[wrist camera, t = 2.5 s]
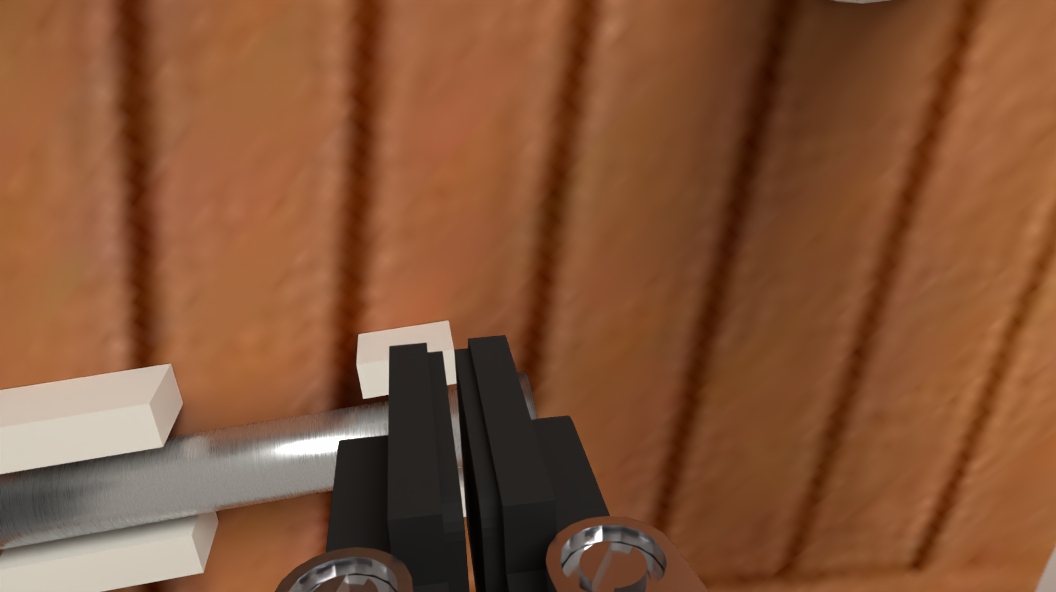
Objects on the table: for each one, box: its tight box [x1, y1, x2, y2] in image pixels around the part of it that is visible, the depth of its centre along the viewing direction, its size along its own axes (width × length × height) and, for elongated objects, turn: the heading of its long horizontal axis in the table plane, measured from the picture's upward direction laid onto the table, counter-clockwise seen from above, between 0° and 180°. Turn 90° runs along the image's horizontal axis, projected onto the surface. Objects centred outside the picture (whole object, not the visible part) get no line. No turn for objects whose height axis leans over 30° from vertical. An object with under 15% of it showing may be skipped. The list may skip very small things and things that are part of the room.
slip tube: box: [0, 371, 537, 550], centre depth 34 cm, size 24×4×4 cm, turn 96°
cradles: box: [0, 320, 466, 592], centre depth 35 cm, size 20×8×4 cm, turn 96°
